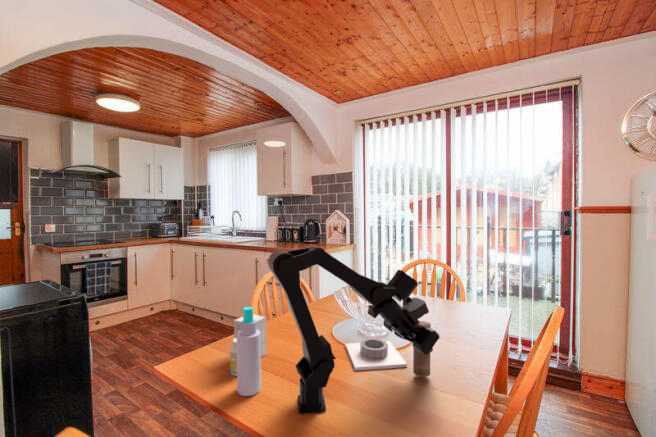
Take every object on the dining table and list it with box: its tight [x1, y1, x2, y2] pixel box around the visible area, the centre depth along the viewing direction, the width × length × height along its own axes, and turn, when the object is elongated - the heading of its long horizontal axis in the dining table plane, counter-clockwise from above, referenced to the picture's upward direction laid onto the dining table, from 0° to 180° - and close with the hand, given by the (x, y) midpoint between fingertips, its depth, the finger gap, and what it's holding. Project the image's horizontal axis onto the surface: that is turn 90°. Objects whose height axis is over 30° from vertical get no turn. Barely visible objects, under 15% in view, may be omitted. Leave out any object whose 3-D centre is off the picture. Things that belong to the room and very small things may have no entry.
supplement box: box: [233, 313, 267, 358], centre depth 99 cm, size 7×7×13 cm
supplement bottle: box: [229, 338, 237, 377], centre depth 90 cm, size 5×5×10 cm
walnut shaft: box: [412, 320, 432, 378], centre depth 87 cm, size 5×5×14 cm
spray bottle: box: [236, 306, 262, 397], centre depth 81 cm, size 6×6×22 cm
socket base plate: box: [345, 337, 408, 371], centre depth 100 cm, size 16×16×4 cm
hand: (425, 347), depth 87 cm, fingers closed on walnut shaft, 5 cm apart
